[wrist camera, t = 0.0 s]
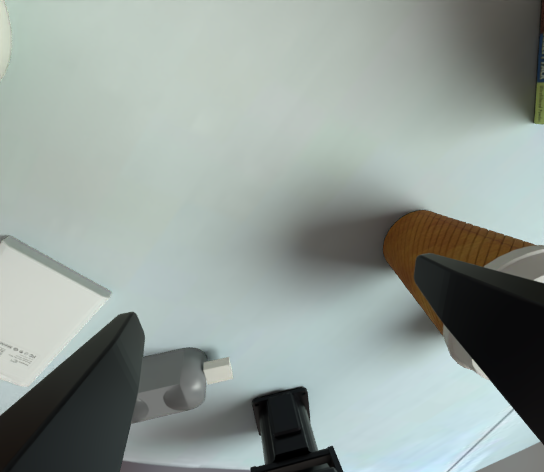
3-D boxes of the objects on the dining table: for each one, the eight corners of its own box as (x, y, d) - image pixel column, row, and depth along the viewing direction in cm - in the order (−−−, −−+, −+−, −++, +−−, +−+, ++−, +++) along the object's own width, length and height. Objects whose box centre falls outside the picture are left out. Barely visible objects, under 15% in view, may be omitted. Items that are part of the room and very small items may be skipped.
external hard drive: (115, 288, 25) (36, 374, 27) (13, 232, 21) (-66, 336, 24) (108, 300, 23) (26, 390, 26) (-1, 241, 20) (-85, 351, 22)
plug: (96, 394, 29) (79, 436, 25) (82, 369, 27) (61, 410, 23) (233, 363, 30) (235, 399, 26) (226, 338, 28) (228, 372, 25)
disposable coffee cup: (428, 289, 30) (543, 390, 20) (350, 274, 28) (434, 382, 17) (477, 206, 27) (650, 274, 16) (394, 180, 24) (534, 242, 14)
